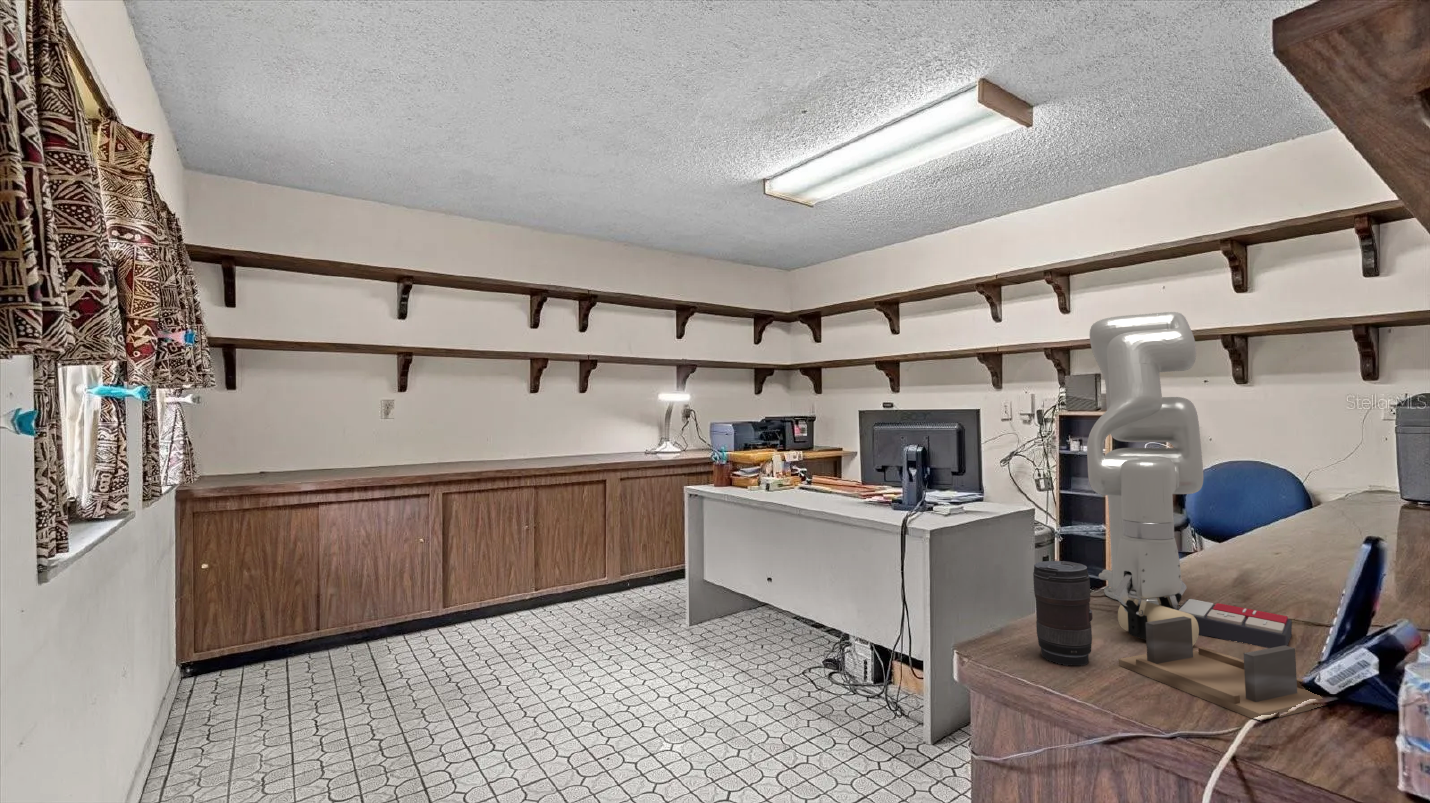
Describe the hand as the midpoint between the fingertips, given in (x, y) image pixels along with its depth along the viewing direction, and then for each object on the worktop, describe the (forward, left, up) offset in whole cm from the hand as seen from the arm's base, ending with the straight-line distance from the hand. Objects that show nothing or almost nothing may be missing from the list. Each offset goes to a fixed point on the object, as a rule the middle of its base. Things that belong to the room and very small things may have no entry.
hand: (1152, 633), depth 112 cm
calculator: (+3, +15, -1) cm, 16 cm away
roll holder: (+17, -9, -1) cm, 19 cm away
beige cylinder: (+1, 0, +2) cm, 2 cm away
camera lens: (+2, -21, -1) cm, 21 cm away
